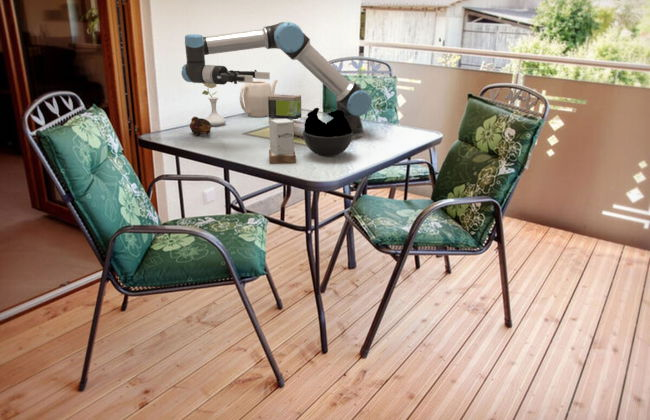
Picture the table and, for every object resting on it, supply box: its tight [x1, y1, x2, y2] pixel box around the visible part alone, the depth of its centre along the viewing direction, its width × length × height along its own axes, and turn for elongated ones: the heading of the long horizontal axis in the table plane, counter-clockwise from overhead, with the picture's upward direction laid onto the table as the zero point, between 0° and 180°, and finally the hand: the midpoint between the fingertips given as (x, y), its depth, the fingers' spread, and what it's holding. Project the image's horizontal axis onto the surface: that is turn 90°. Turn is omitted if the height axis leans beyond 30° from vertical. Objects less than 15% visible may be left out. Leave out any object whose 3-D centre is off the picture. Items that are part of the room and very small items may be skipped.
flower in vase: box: [201, 83, 227, 127], centre depth 253 cm, size 13×11×25 cm
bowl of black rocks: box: [302, 107, 354, 158], centre depth 199 cm, size 20×20×19 cm
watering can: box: [239, 79, 278, 118], centre depth 280 cm, size 16×27×19 cm, turn 135°
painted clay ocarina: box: [189, 116, 212, 137], centre depth 234 cm, size 10×15×8 cm, turn 45°
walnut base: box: [268, 149, 297, 165], centre depth 195 cm, size 10×10×3 cm
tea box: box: [268, 93, 302, 125], centre depth 260 cm, size 15×10×15 cm
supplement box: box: [268, 119, 295, 155], centre depth 193 cm, size 7×7×13 cm
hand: (261, 77), depth 199 cm, fingers open, 13 cm apart
